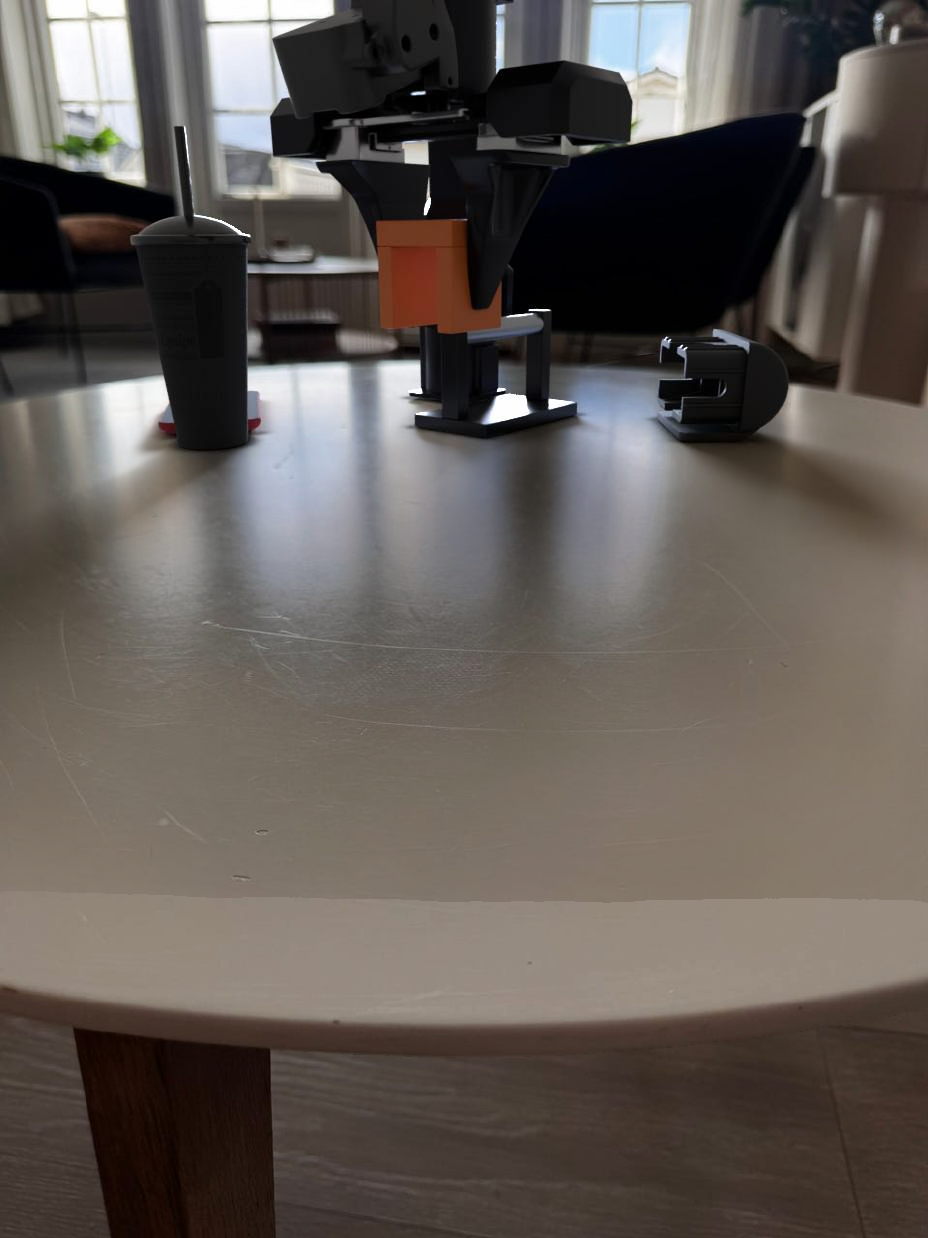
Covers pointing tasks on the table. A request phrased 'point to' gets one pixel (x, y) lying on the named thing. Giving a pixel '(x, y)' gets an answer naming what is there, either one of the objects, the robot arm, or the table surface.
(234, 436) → the drinking cup
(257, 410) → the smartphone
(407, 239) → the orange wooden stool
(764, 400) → the end cap
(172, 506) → the table surface
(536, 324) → the rack
